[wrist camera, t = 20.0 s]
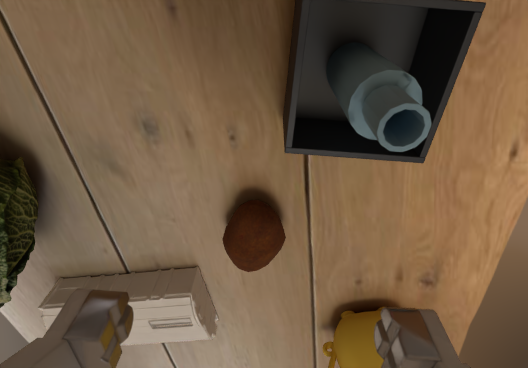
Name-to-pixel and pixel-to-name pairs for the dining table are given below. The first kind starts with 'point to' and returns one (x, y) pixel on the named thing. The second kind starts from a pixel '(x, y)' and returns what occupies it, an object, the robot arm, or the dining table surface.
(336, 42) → the box
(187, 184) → the dining table surface
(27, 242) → the vegetable
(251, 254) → the potato
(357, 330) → the teapot
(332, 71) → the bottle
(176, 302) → the white box
